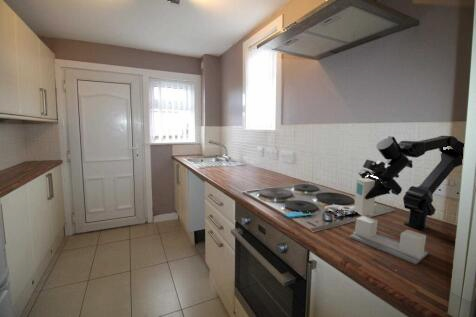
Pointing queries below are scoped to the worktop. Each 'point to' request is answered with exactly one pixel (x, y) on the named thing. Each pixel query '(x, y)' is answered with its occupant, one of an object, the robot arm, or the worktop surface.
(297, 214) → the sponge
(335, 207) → the gun
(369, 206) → the block
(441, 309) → the worktop surface
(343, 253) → the worktop surface
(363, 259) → the worktop surface
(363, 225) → the board
